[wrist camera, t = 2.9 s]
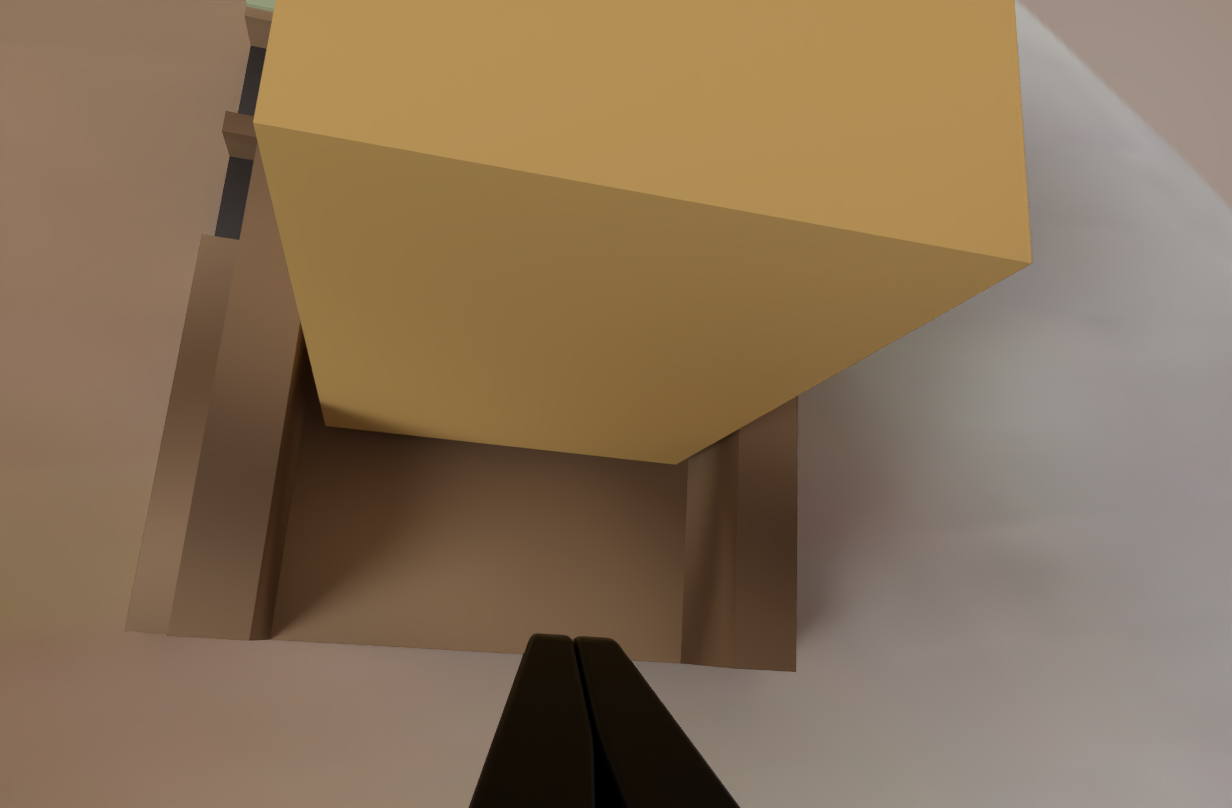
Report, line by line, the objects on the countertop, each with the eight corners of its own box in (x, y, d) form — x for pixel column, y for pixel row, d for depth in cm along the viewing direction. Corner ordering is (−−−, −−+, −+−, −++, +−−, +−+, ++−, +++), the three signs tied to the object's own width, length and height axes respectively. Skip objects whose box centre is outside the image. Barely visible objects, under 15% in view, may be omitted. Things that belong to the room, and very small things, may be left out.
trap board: (764, 667, 17) (861, 675, 14) (143, 631, 15) (73, 630, 11) (775, -65, 22) (850, -198, 18) (298, -187, 19) (281, -368, 16)
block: (676, 464, 16) (1032, 264, 7) (325, 426, 15) (252, 123, 6) (682, 307, 17) (1010, -44, 8) (351, 256, 16) (317, -231, 7)
